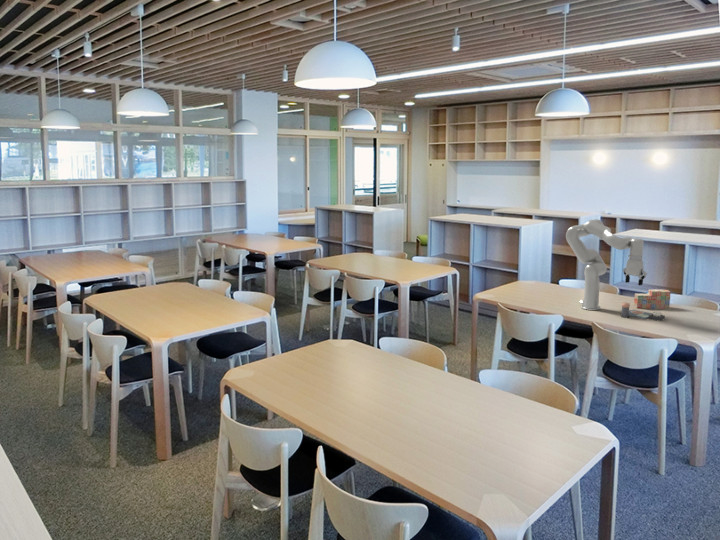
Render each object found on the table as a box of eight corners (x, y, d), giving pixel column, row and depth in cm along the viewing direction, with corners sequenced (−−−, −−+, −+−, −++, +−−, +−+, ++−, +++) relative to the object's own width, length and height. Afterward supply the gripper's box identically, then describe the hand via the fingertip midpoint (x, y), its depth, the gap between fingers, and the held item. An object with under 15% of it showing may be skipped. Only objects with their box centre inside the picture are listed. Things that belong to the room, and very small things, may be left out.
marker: (619, 316, 387) (620, 303, 386) (624, 315, 390) (624, 302, 388) (625, 318, 383) (626, 304, 382) (630, 317, 386) (631, 303, 384)
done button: (651, 316, 381) (651, 312, 380) (655, 315, 383) (656, 311, 383) (658, 317, 377) (658, 314, 377) (662, 316, 379) (662, 312, 379)
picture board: (620, 313, 395) (620, 312, 394) (633, 310, 402) (633, 309, 401) (644, 319, 380) (644, 317, 380) (657, 316, 387) (657, 314, 387)
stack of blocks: (636, 308, 408) (638, 291, 405) (633, 306, 414) (634, 289, 411) (669, 308, 405) (670, 291, 403) (665, 306, 411) (667, 289, 409)
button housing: (648, 318, 382) (649, 315, 381) (655, 317, 385) (655, 313, 384) (658, 320, 376) (658, 317, 376) (664, 319, 379) (665, 315, 379)
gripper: (620, 256, 387) (618, 282, 390) (643, 260, 372) (641, 286, 375) (628, 255, 390) (626, 280, 393) (651, 259, 375) (649, 285, 378)
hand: (633, 283), depth 384 cm, fingers open, 9 cm apart
